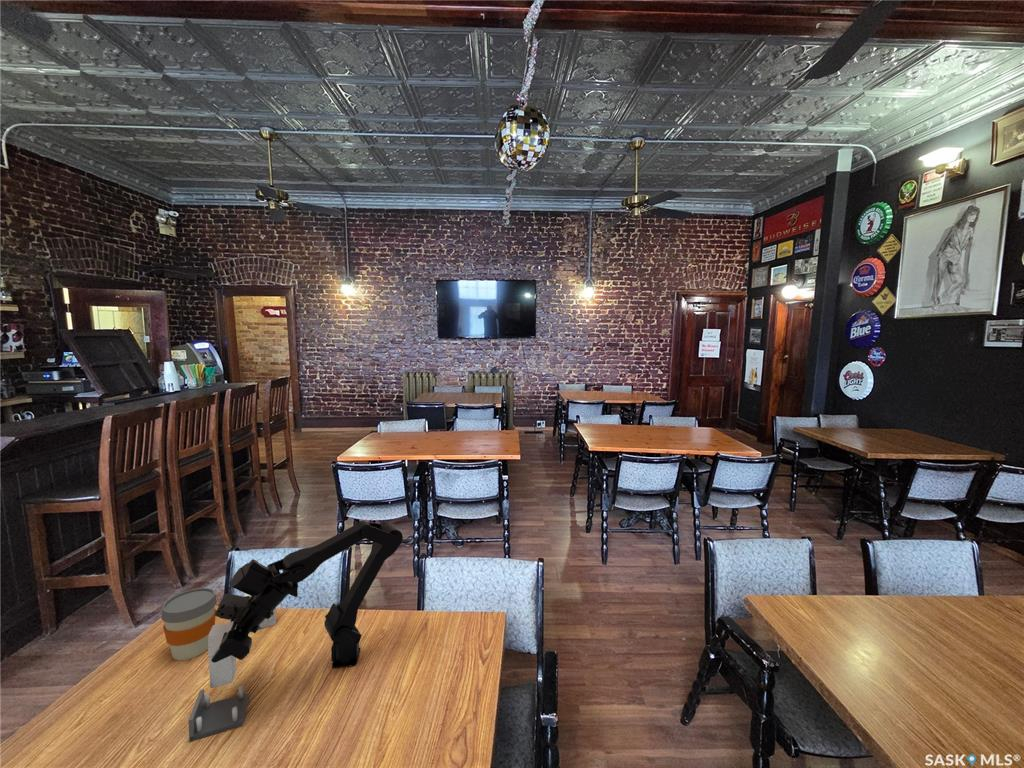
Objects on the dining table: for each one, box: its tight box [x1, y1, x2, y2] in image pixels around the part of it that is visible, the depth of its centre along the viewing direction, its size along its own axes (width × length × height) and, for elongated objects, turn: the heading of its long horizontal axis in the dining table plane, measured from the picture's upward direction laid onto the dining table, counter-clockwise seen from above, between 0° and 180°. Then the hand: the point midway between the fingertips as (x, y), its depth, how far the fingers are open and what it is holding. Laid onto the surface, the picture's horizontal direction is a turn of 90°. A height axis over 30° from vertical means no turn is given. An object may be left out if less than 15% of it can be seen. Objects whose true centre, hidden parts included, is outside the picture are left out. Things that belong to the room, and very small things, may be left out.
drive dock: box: [187, 684, 250, 742], centre depth 98 cm, size 10×9×5 cm
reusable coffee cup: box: [161, 587, 218, 661], centre depth 120 cm, size 13×13×15 cm
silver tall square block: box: [207, 621, 237, 689], centre depth 101 cm, size 4×4×13 cm
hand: (215, 654), depth 100 cm, fingers closed on silver tall square block, 4 cm apart
